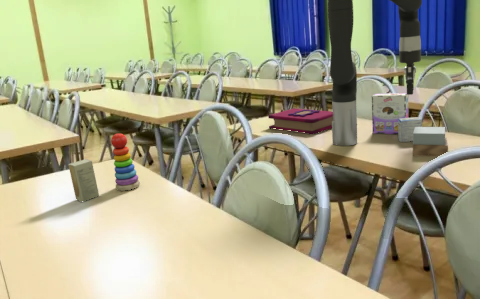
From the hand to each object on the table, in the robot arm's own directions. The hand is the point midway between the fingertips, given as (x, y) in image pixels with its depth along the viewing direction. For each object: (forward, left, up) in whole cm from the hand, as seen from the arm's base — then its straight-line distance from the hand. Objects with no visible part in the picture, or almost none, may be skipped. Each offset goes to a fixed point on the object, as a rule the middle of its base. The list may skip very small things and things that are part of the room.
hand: (410, 92), depth 170 cm
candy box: (-8, +13, -19) cm, 24 cm away
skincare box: (-95, -75, -19) cm, 122 cm away
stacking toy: (-87, -64, -19) cm, 110 cm away
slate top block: (+7, -15, -15) cm, 22 cm away
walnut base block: (+7, -15, -19) cm, 25 cm away
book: (-48, +25, -19) cm, 58 cm away
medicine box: (0, 0, -19) cm, 19 cm away
